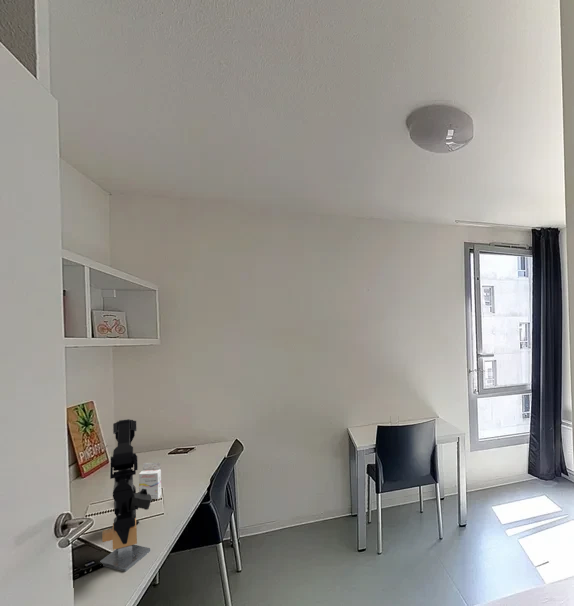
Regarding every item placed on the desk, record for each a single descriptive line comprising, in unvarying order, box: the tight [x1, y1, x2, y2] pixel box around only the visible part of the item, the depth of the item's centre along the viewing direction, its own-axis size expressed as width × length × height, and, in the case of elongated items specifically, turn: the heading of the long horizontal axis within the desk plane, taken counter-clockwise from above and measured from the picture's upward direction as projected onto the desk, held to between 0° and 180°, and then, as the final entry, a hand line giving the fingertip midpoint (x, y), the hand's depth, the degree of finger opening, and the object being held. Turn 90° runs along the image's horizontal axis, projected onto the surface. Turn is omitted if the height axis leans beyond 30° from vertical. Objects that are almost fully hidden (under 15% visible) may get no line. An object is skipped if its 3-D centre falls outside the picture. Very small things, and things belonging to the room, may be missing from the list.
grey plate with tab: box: [99, 544, 151, 573], centre depth 125 cm, size 11×11×4 cm
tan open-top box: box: [101, 517, 138, 551], centre depth 124 cm, size 7×10×5 cm
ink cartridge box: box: [138, 462, 162, 500], centre depth 169 cm, size 9×5×15 cm, turn 92°
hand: (124, 537), depth 125 cm, fingers closed on tan open-top box, 7 cm apart
